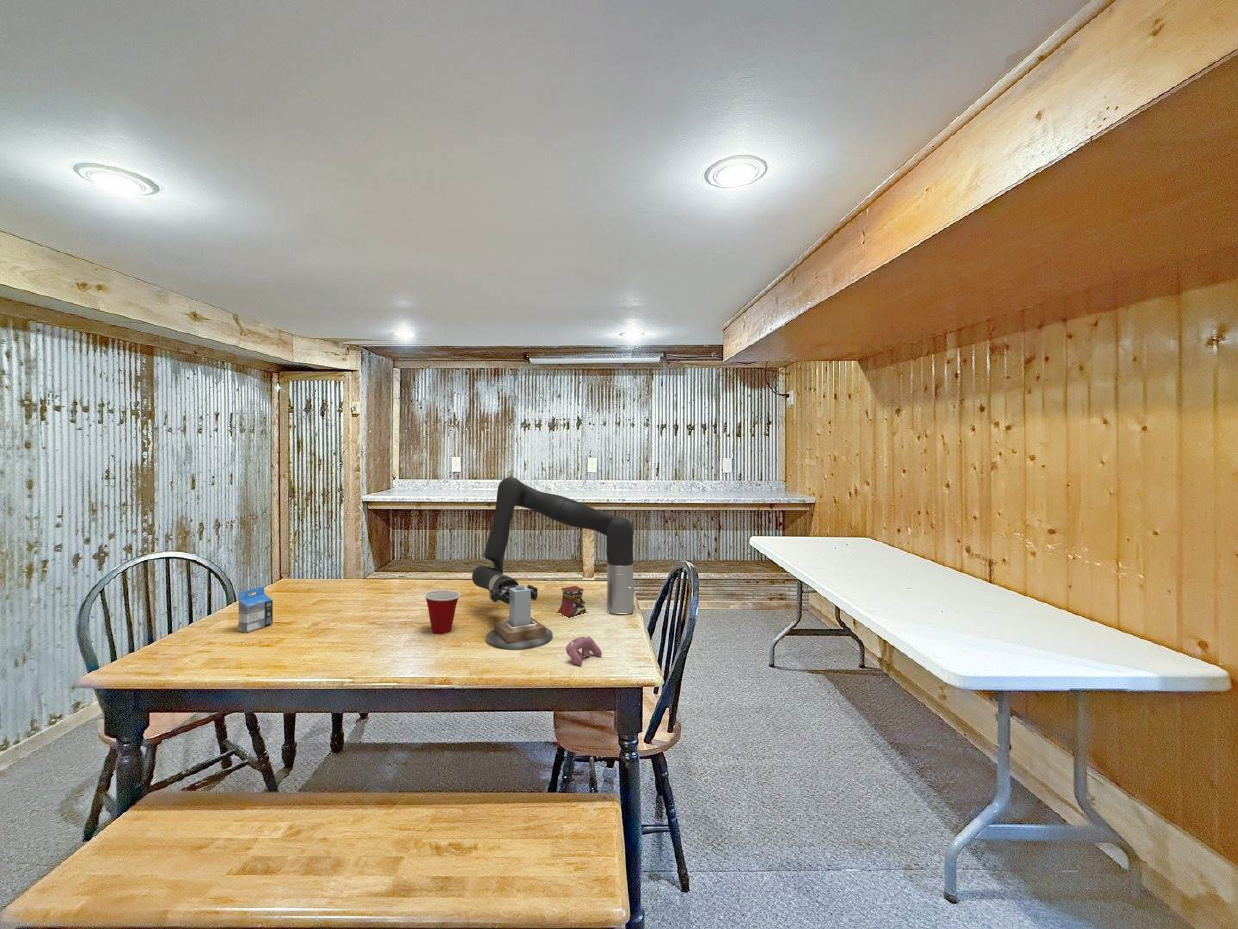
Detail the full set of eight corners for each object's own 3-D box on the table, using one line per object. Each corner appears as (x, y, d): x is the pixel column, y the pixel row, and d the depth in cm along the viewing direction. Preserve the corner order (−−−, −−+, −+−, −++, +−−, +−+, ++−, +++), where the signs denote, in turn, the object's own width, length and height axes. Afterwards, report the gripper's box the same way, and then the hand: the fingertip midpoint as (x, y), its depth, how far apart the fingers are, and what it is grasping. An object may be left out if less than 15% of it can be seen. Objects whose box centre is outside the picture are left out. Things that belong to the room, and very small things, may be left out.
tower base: (537, 624, 183) (537, 609, 183) (563, 642, 166) (563, 626, 166) (477, 634, 172) (477, 618, 172) (498, 654, 155) (498, 637, 155)
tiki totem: (568, 619, 188) (568, 593, 188) (556, 613, 195) (556, 588, 195) (589, 615, 193) (589, 589, 193) (576, 609, 200) (576, 584, 200)
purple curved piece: (593, 659, 157) (584, 634, 159) (604, 655, 154) (595, 630, 156) (569, 669, 149) (560, 644, 151) (580, 666, 146) (572, 640, 148)
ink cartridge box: (247, 633, 171) (246, 593, 171) (237, 632, 172) (237, 592, 172) (273, 625, 179) (273, 587, 179) (264, 623, 181) (264, 586, 180)
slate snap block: (524, 621, 172) (524, 583, 172) (530, 626, 168) (530, 587, 168) (509, 624, 170) (509, 585, 170) (514, 628, 166) (514, 589, 165)
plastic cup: (449, 638, 169) (449, 598, 168) (417, 635, 171) (417, 596, 170) (466, 627, 179) (466, 590, 179) (435, 624, 181) (435, 588, 181)
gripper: (482, 578, 177) (499, 589, 163) (524, 573, 185) (544, 583, 171) (482, 601, 177) (499, 614, 163) (524, 595, 185) (543, 607, 171)
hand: (522, 598), depth 167 cm, fingers open, 8 cm apart
